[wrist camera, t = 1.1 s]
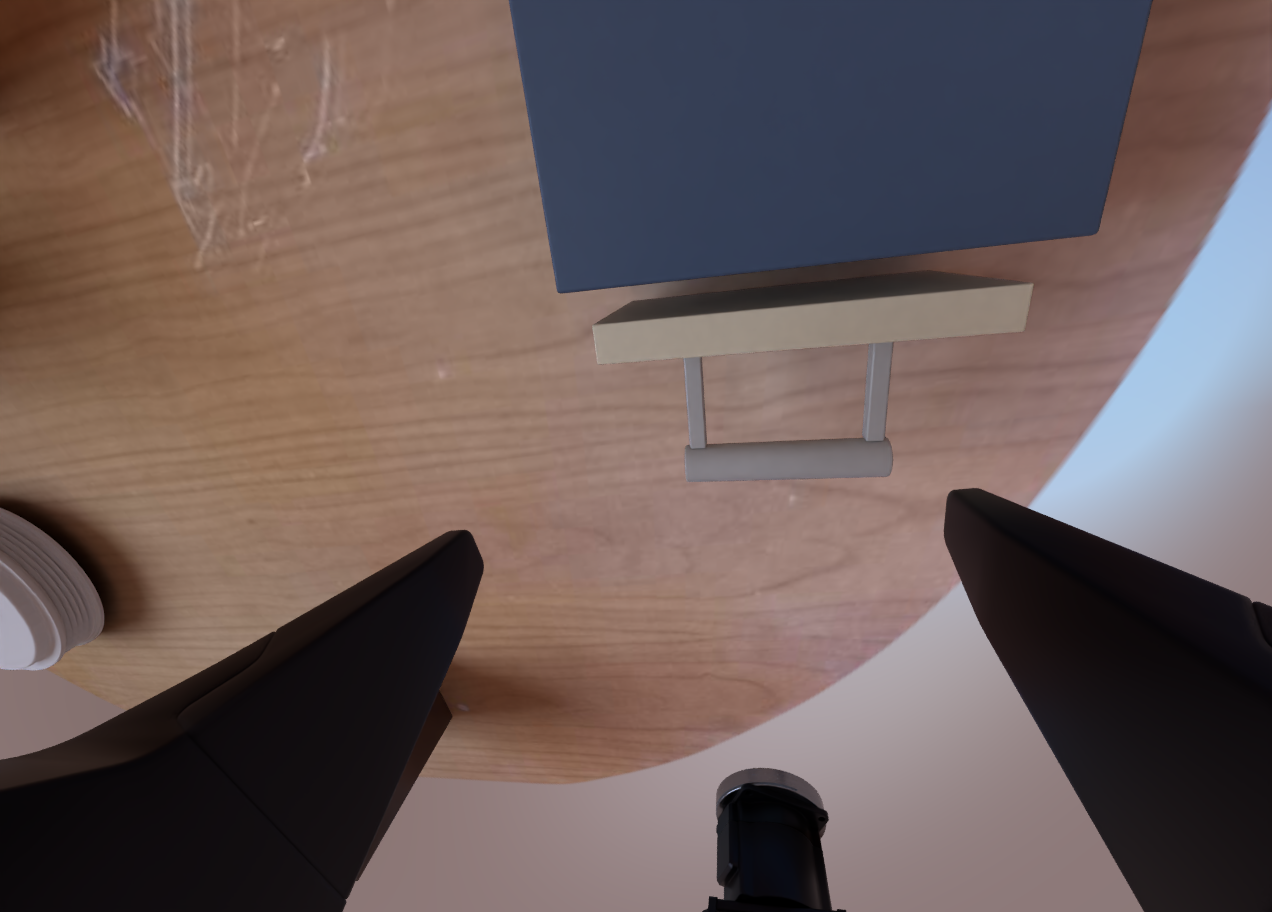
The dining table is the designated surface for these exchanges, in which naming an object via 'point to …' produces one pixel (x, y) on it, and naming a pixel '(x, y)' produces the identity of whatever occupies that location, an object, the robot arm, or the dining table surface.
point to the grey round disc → (41, 598)
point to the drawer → (805, 322)
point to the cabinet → (817, 128)
